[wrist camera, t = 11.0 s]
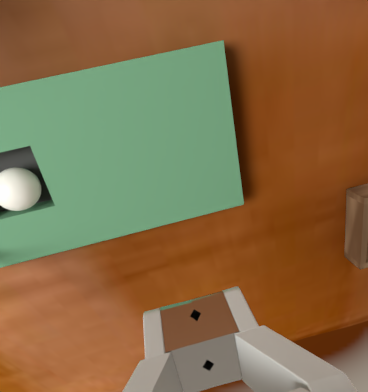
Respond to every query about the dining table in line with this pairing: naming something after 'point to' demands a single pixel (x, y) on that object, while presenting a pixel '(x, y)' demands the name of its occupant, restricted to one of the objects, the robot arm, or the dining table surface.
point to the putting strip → (119, 150)
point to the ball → (18, 189)
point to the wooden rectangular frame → (357, 226)
